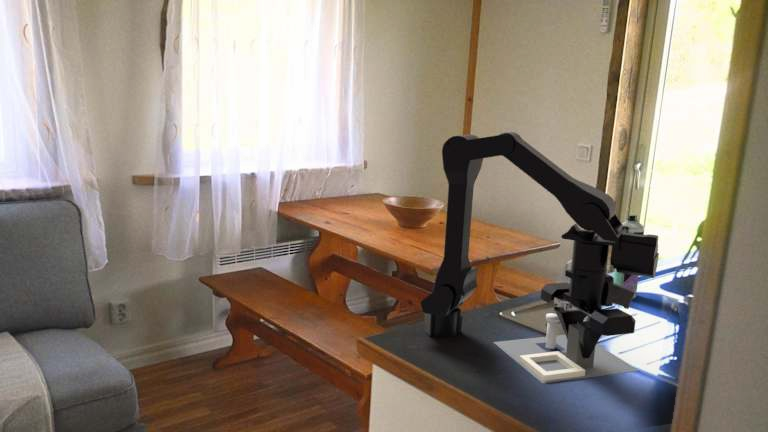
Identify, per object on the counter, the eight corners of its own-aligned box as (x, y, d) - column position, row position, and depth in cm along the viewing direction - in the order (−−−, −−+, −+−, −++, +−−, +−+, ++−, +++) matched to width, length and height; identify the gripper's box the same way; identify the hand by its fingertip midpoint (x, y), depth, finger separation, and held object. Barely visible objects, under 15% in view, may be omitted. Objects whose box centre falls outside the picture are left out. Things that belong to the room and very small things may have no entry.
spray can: (633, 300, 146) (643, 218, 142) (610, 295, 149) (618, 215, 145) (637, 294, 151) (647, 215, 147) (614, 290, 153) (623, 212, 150)
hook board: (541, 391, 99) (545, 347, 98) (492, 349, 115) (495, 311, 113) (638, 378, 105) (643, 337, 103) (578, 340, 121) (582, 303, 119)
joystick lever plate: (543, 381, 99) (547, 340, 98) (518, 360, 107) (522, 323, 105) (601, 373, 103) (606, 334, 101) (574, 354, 110) (577, 317, 109)
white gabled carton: (554, 303, 142) (557, 262, 140) (564, 296, 147) (567, 256, 145) (569, 307, 140) (573, 265, 138) (579, 299, 145) (583, 259, 143)
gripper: (668, 280, 96) (656, 372, 99) (594, 251, 114) (586, 329, 117) (609, 285, 93) (599, 380, 96) (542, 254, 110) (535, 335, 113)
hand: (580, 353), depth 106 cm, fingers closed on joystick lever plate, 3 cm apart
